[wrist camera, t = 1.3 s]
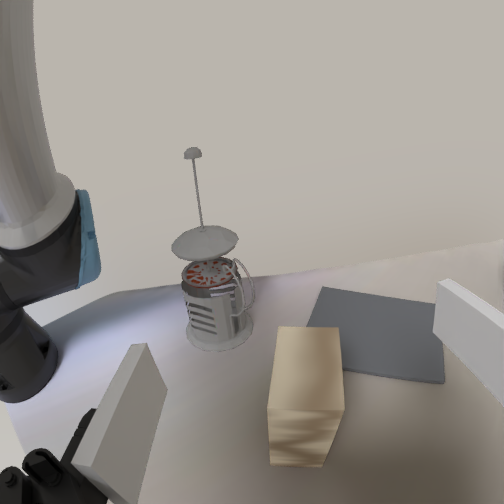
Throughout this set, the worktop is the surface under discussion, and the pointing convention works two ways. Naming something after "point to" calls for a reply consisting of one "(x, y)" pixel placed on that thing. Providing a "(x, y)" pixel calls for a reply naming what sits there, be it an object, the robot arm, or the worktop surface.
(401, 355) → the mat
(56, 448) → the worktop surface
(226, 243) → the french press
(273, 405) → the birch block
